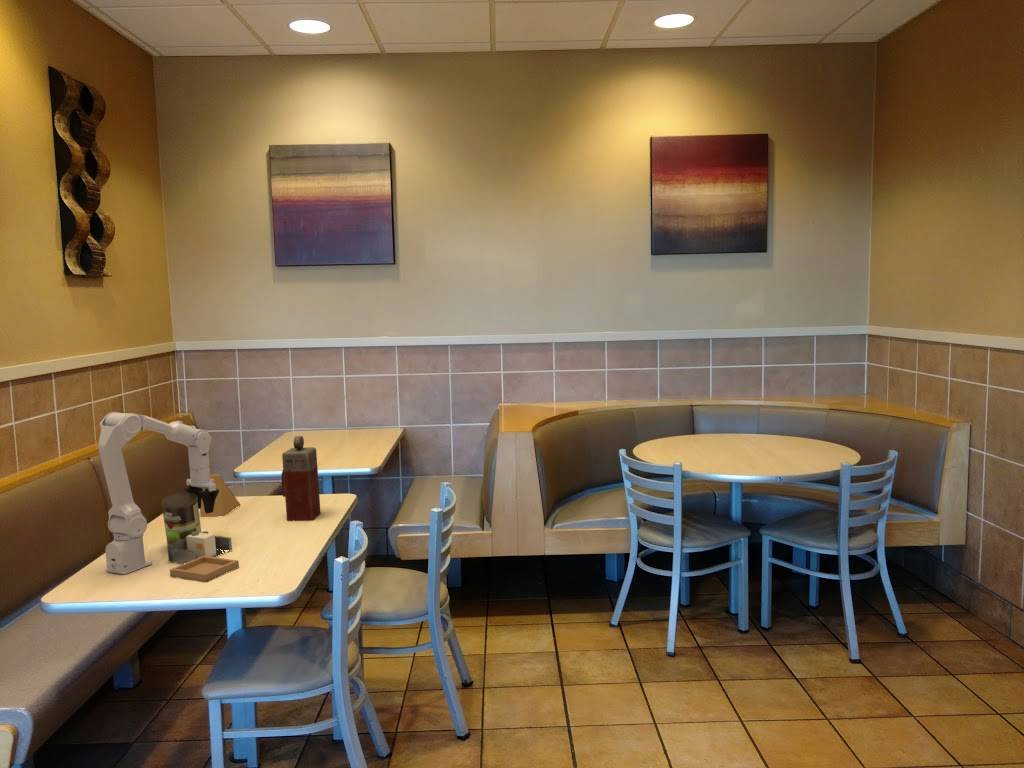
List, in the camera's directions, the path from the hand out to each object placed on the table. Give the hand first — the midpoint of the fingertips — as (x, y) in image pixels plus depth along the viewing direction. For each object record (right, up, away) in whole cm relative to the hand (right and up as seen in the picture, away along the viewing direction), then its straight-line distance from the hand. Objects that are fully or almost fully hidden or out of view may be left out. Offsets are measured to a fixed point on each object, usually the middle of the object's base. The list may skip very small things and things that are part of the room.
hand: (203, 510), depth 246 cm
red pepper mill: (+23, -6, +26) cm, 35 cm away
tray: (+11, -13, -27) cm, 31 cm away
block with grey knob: (+5, -11, -13) cm, 18 cm away
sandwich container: (-8, -6, +38) cm, 40 cm away
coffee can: (-5, -9, 0) cm, 11 cm away
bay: (+4, -11, -13) cm, 17 cm away
